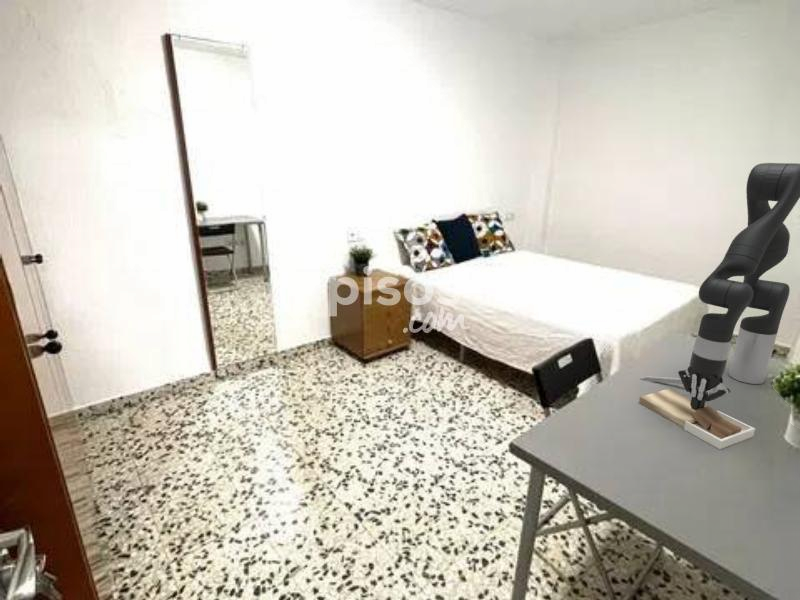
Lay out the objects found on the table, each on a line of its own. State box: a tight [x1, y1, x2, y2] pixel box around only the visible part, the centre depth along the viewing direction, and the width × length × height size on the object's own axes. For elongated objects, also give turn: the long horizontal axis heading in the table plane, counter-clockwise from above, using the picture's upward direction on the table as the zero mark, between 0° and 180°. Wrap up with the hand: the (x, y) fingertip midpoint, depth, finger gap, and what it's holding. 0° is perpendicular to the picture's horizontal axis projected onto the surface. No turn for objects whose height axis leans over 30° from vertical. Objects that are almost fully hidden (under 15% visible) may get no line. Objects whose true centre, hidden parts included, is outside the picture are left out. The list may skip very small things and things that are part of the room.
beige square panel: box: [638, 388, 706, 429], centre depth 120 cm, size 12×14×2 cm
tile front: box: [710, 419, 742, 439], centre depth 107 cm, size 4×4×3 cm
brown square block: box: [692, 405, 723, 429], centre depth 111 cm, size 4×4×3 cm
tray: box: [683, 410, 756, 450], centre depth 109 cm, size 13×9×2 cm
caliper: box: [639, 375, 717, 394], centre depth 132 cm, size 20×1×6 cm, turn 55°
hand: (696, 409), depth 114 cm, fingers closed
